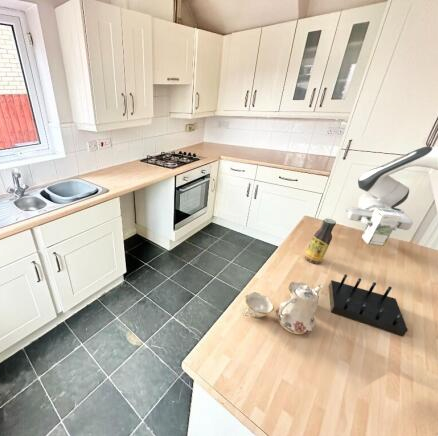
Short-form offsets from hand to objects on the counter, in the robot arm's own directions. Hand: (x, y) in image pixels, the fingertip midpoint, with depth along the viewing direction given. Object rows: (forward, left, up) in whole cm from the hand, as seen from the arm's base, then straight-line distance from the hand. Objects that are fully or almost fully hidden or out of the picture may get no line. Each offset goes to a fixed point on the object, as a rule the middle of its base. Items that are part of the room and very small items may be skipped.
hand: (381, 226), depth 97 cm
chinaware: (+27, +50, -17) cm, 59 cm away
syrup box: (0, -1, -8) cm, 8 cm away
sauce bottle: (+19, +12, -17) cm, 28 cm away
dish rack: (+5, +34, -16) cm, 38 cm away
